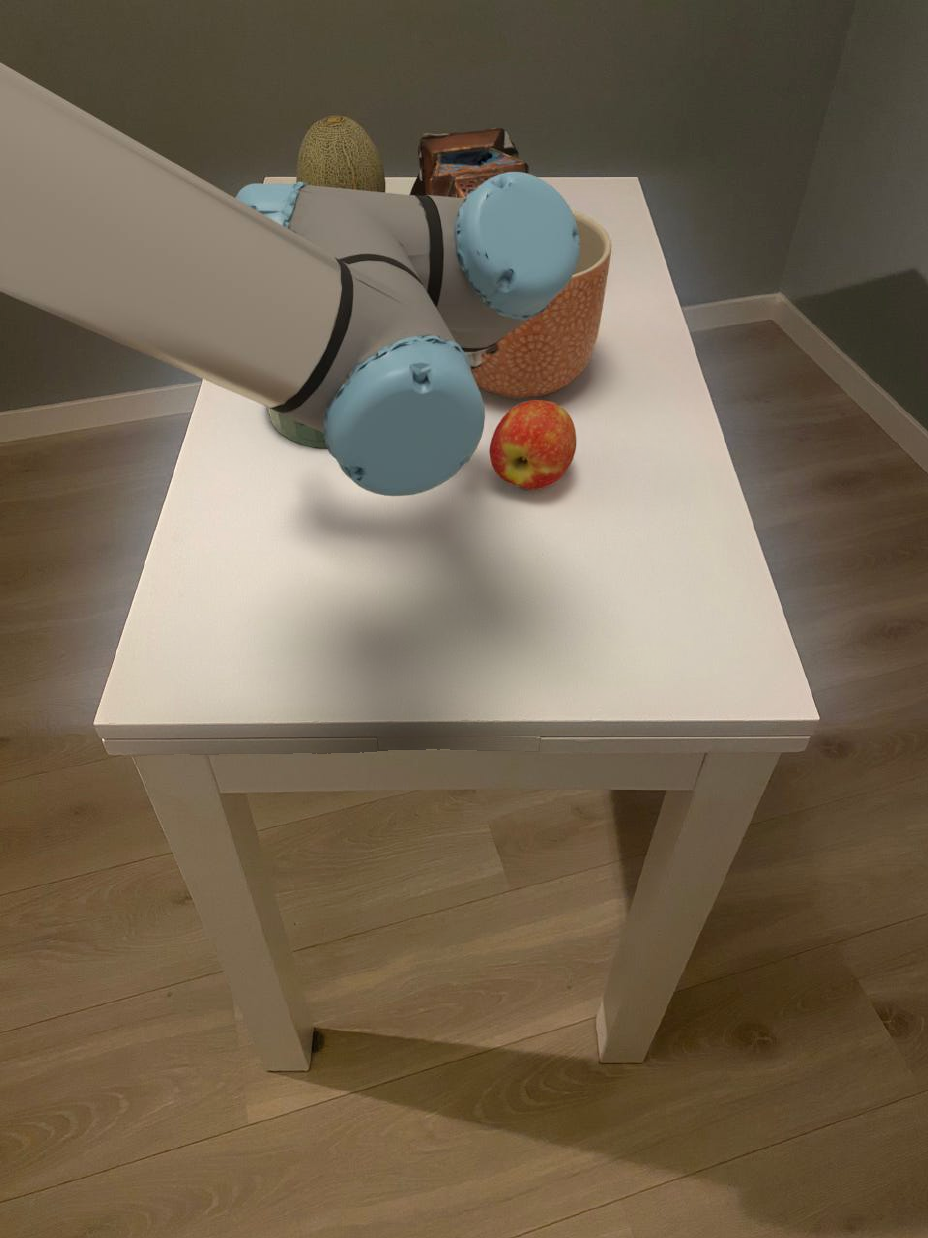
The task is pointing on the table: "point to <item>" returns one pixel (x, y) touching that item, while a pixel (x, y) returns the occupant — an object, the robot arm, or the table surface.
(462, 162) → the lantern
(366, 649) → the table surface
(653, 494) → the table surface
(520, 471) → the apple
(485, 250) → the robot arm
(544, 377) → the planter
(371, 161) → the fruit
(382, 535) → the table surface
